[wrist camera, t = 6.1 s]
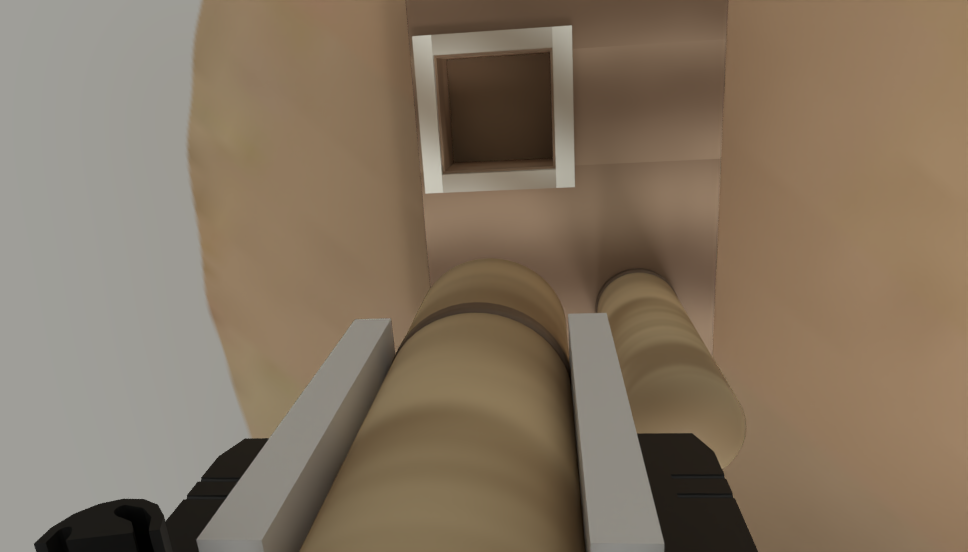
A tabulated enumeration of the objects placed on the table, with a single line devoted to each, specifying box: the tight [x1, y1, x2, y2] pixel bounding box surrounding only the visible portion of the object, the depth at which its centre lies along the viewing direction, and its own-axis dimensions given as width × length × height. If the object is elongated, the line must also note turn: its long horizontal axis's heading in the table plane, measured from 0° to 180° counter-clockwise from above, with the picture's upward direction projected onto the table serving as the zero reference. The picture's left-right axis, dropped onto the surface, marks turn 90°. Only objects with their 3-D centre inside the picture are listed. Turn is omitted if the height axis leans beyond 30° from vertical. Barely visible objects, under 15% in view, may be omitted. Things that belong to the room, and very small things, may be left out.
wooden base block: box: [406, 0, 746, 469], centre depth 25 cm, size 18×13×14 cm
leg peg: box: [299, 258, 586, 552], centre depth 9 cm, size 4×4×14 cm
